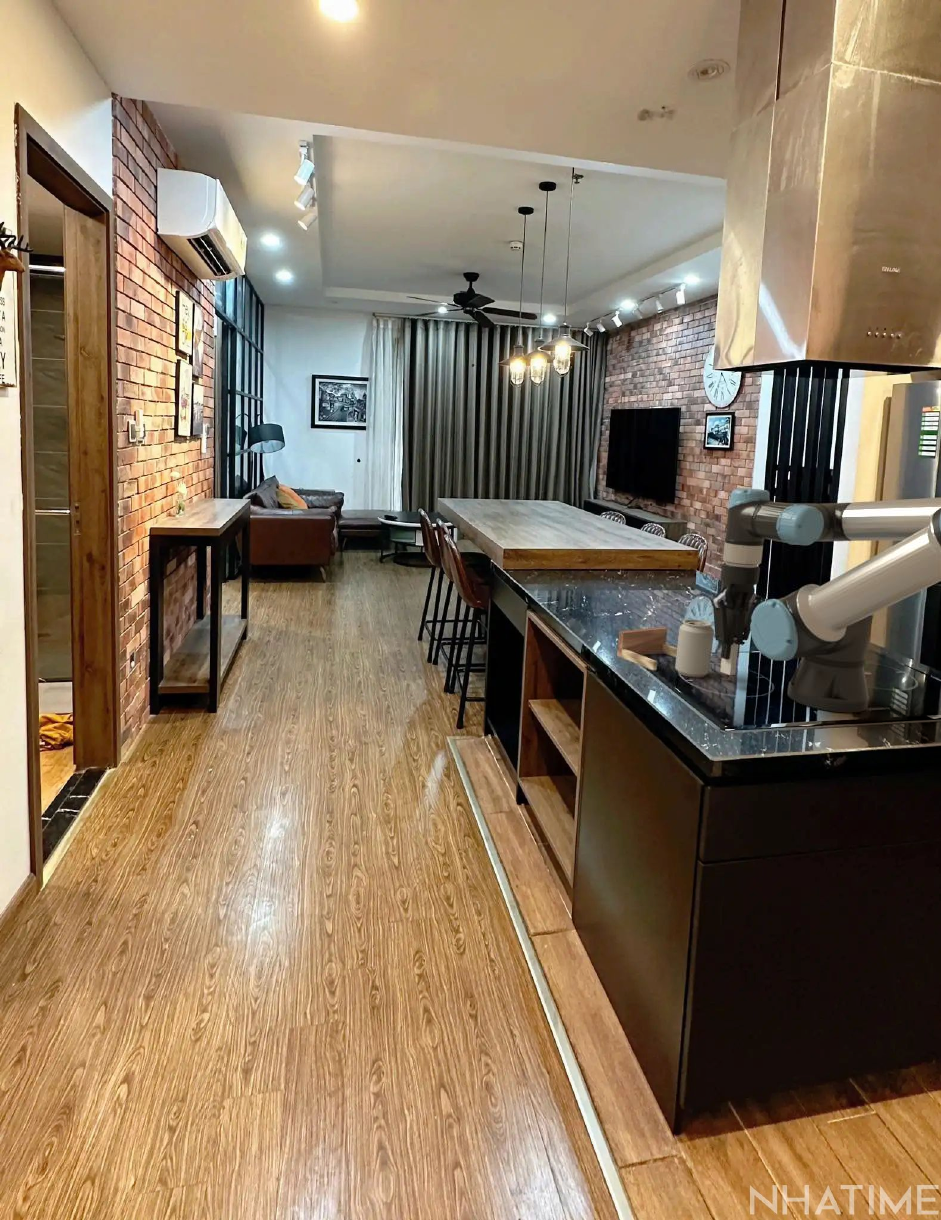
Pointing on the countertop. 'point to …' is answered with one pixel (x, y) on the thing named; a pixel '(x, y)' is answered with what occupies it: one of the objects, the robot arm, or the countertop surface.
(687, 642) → the can
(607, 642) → the countertop surface
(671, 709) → the countertop surface
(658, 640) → the wooden bracket
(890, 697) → the countertop surface
